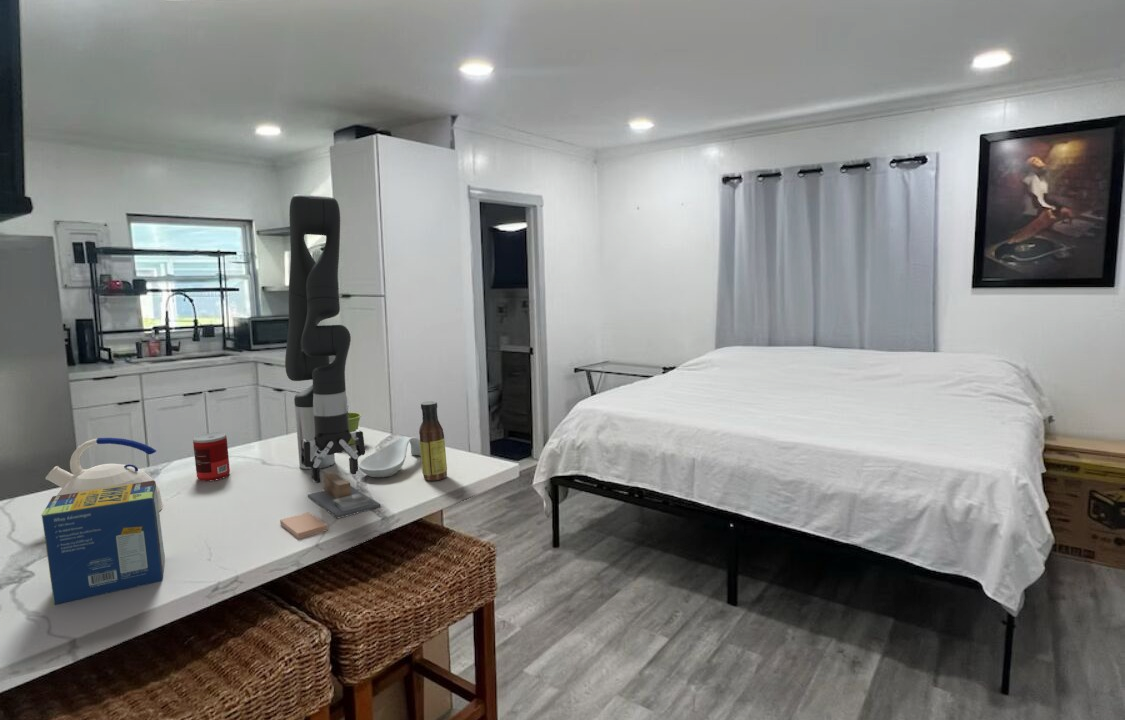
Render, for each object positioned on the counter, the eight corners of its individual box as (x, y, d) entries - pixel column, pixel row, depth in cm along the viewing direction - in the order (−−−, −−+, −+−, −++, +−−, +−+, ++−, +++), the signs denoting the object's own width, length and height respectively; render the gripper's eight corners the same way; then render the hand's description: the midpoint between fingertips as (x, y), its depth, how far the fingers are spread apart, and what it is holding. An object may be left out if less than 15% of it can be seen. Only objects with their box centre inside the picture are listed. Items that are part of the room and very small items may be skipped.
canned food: (232, 470, 171) (228, 431, 169) (227, 479, 164) (223, 438, 162) (200, 473, 169) (196, 434, 167) (193, 483, 161) (189, 441, 160)
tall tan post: (317, 492, 151) (316, 476, 150) (341, 486, 155) (340, 471, 154) (343, 511, 139) (342, 494, 138) (369, 504, 143) (368, 487, 142)
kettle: (69, 507, 146) (59, 432, 143) (172, 495, 153) (164, 422, 150) (33, 542, 127) (20, 456, 124) (152, 526, 134) (142, 444, 132)
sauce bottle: (450, 474, 165) (446, 400, 162) (443, 482, 159) (439, 405, 156) (425, 473, 165) (422, 400, 163) (418, 481, 159) (414, 405, 156)
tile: (280, 519, 133) (297, 533, 126) (308, 512, 138) (327, 525, 130) (280, 527, 134) (298, 541, 126) (308, 519, 138) (327, 532, 130)
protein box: (63, 579, 111) (51, 495, 109) (165, 558, 119) (156, 479, 117) (52, 606, 102) (39, 515, 100) (163, 581, 110) (154, 496, 108)
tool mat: (307, 496, 150) (307, 494, 150) (348, 486, 156) (348, 484, 156) (337, 518, 136) (337, 515, 136) (380, 506, 143) (380, 503, 143)
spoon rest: (388, 484, 159) (387, 456, 158) (349, 480, 162) (347, 453, 161) (436, 457, 181) (435, 433, 180) (400, 454, 185) (399, 430, 184)
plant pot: (368, 442, 197) (366, 415, 195) (339, 449, 190) (337, 421, 189) (354, 437, 203) (352, 411, 202) (325, 443, 197) (323, 416, 195)
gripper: (354, 403, 153) (358, 467, 156) (293, 413, 144) (299, 480, 147) (367, 408, 148) (371, 475, 150) (305, 419, 138) (310, 489, 141)
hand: (335, 477), depth 148 cm, fingers open, 8 cm apart
